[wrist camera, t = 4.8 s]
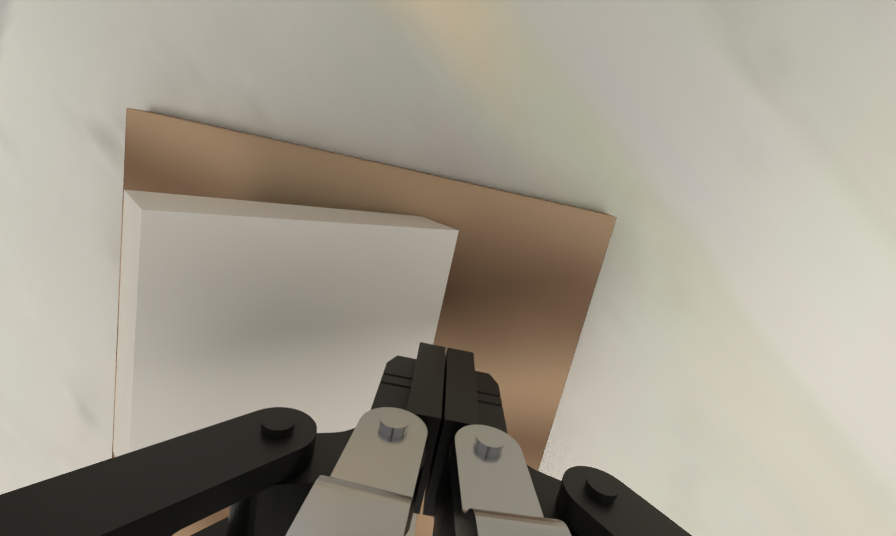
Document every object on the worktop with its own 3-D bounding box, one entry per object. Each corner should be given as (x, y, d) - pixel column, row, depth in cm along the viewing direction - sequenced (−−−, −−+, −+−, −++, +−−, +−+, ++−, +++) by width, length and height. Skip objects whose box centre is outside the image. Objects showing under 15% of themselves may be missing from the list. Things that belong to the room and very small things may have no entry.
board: (149, 111, 17) (126, 108, 16) (605, 213, 18) (616, 217, 16) (126, 535, 22) (108, 556, 21) (487, 604, 22) (488, 629, 21)
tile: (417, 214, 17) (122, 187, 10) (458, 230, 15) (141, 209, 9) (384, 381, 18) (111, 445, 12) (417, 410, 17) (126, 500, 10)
